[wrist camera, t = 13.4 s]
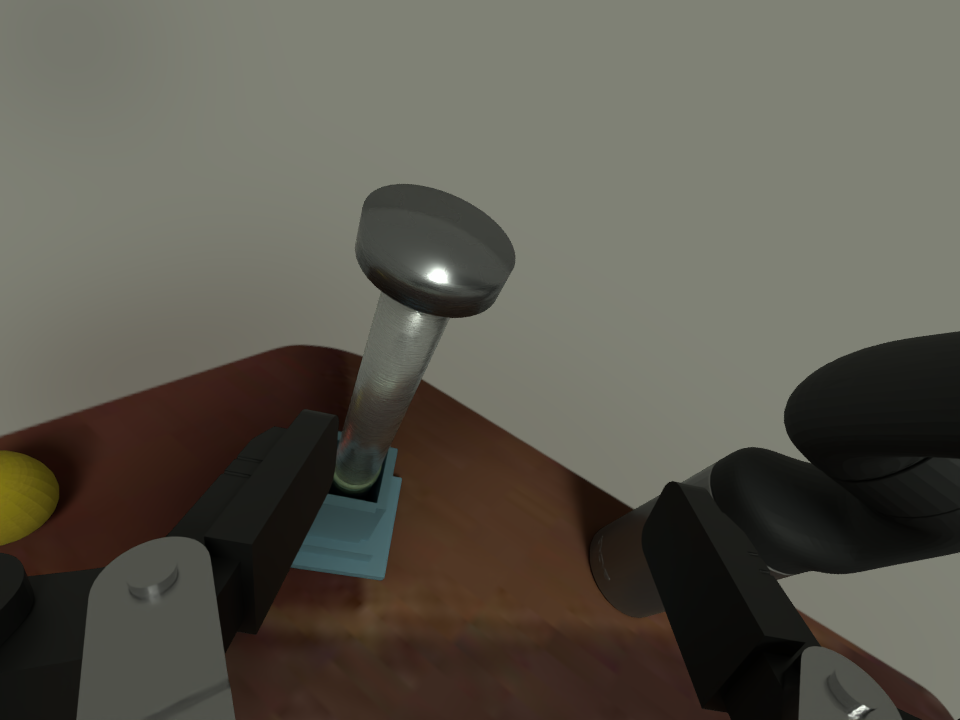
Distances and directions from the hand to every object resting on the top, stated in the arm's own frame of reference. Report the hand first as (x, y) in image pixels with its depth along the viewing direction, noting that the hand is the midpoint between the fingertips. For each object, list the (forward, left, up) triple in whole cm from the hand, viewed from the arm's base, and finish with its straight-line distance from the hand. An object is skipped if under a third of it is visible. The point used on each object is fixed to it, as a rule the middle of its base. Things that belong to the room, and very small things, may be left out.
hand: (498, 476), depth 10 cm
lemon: (+23, -5, -31) cm, 39 cm away
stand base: (+2, -9, -31) cm, 32 cm away
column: (+2, -9, -24) cm, 26 cm away
